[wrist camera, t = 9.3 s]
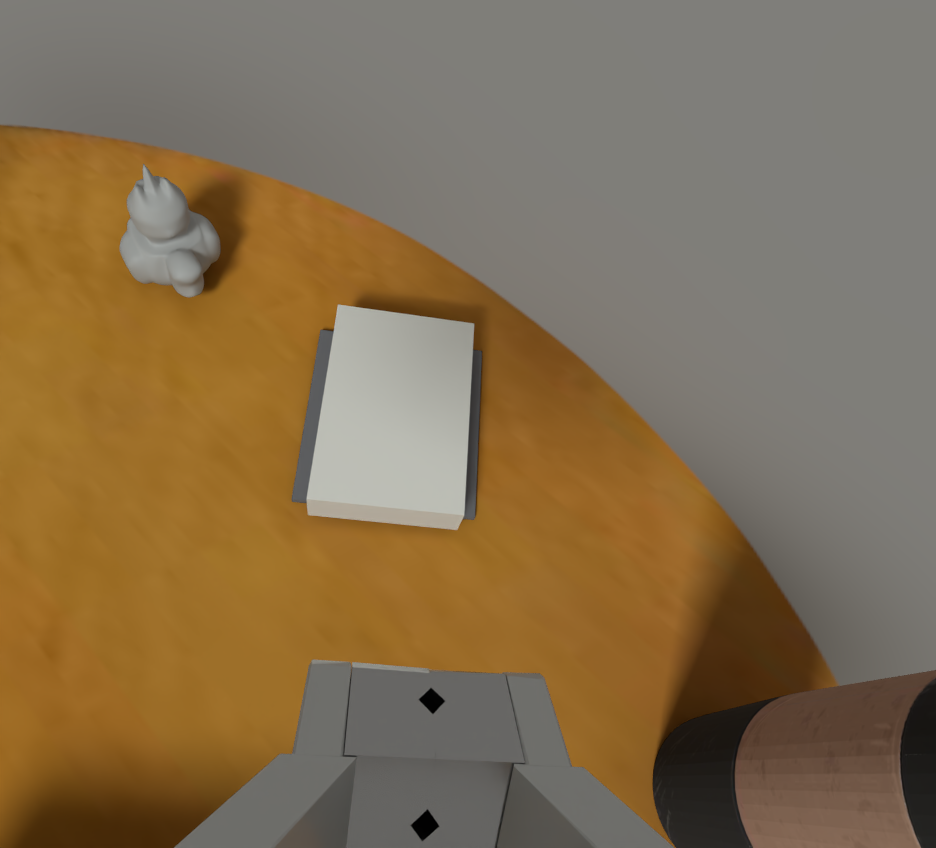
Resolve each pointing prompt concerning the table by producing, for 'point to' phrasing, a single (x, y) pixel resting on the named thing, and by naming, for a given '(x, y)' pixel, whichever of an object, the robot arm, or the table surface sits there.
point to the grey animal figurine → (167, 237)
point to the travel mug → (806, 770)
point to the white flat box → (394, 420)
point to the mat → (314, 416)
